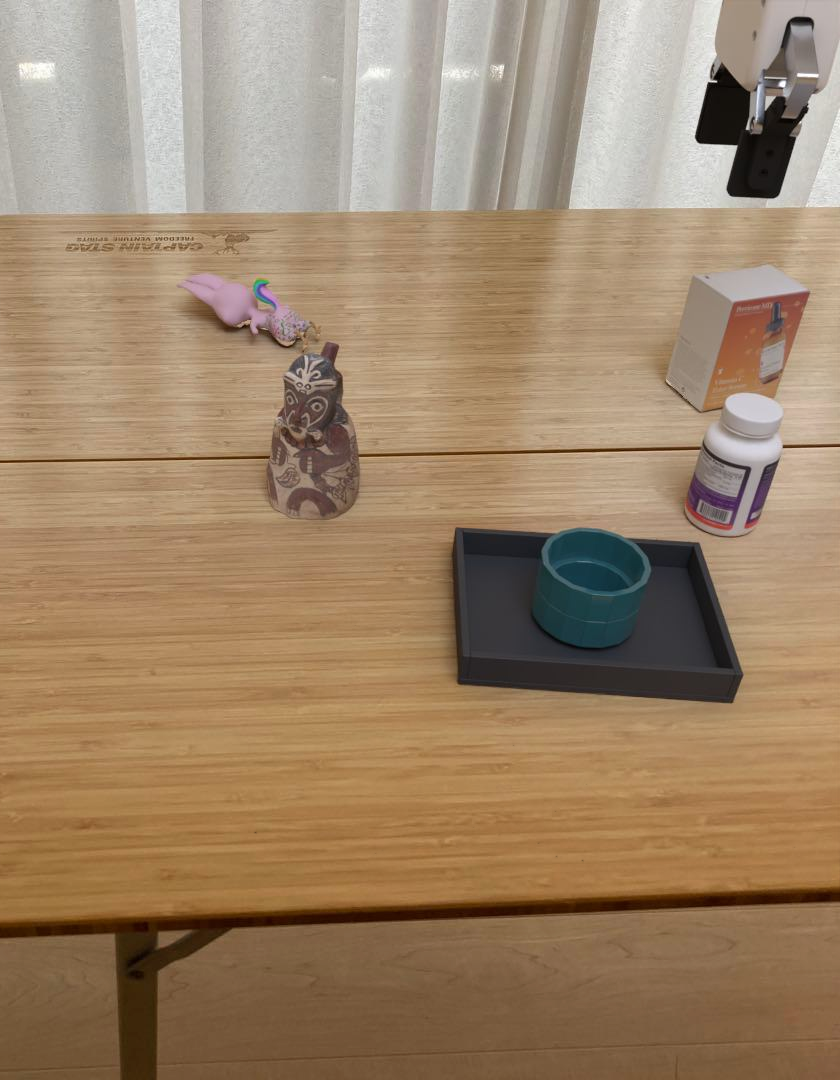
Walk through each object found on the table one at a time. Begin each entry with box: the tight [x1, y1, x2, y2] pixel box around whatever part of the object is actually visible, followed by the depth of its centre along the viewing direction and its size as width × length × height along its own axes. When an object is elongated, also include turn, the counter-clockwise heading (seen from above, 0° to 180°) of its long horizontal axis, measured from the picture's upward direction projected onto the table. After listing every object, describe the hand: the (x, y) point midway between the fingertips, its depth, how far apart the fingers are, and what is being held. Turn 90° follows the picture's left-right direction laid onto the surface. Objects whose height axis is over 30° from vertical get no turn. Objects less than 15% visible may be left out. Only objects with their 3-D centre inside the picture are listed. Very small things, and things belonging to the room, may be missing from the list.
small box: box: [665, 263, 811, 412], centre depth 95 cm, size 8×6×10 cm
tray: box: [451, 526, 744, 704], centre depth 74 cm, size 17×13×2 cm
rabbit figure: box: [175, 272, 322, 346], centre depth 104 cm, size 6×6×15 cm
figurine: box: [266, 340, 361, 521], centre depth 82 cm, size 7×7×12 cm
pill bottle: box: [684, 393, 785, 537], centre depth 81 cm, size 5×5×10 cm
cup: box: [531, 526, 651, 648], centre depth 72 cm, size 7×7×5 cm
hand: (733, 168), depth 74 cm, fingers open, 9 cm apart
